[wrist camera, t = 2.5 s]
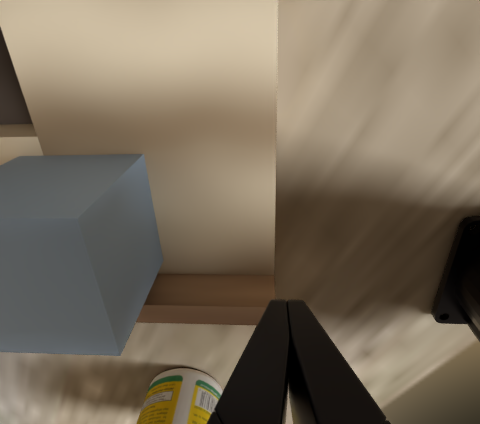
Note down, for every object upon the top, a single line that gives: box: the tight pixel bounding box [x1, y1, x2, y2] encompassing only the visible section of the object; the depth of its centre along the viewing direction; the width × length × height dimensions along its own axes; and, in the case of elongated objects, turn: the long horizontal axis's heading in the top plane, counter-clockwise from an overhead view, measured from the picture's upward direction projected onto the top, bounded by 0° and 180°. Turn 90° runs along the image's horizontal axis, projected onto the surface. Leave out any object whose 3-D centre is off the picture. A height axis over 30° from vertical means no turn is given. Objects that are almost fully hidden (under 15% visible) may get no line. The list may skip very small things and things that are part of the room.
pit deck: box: [0, 0, 278, 325], centre depth 13 cm, size 14×20×4 cm
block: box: [0, 154, 163, 356], centre depth 12 cm, size 5×5×5 cm
